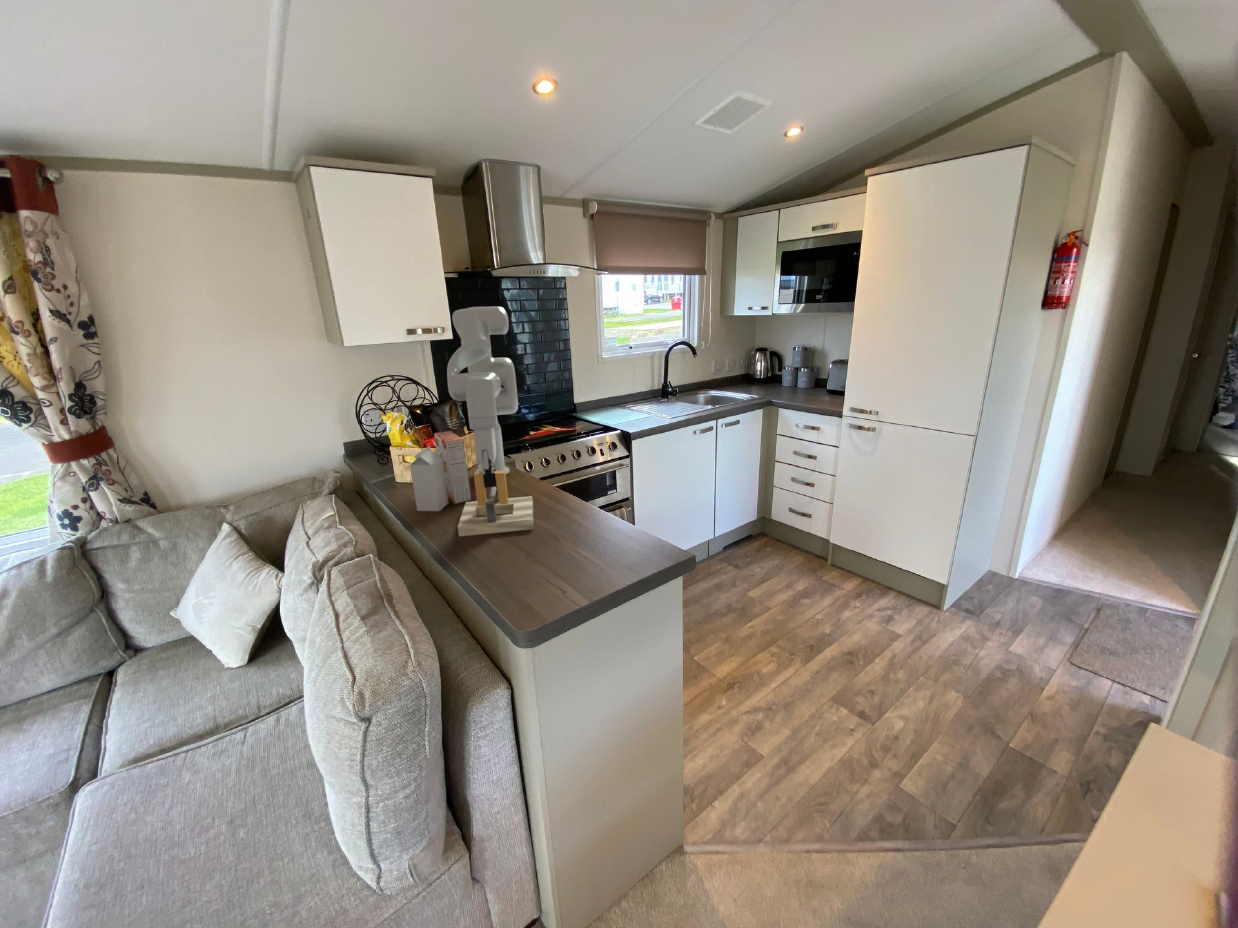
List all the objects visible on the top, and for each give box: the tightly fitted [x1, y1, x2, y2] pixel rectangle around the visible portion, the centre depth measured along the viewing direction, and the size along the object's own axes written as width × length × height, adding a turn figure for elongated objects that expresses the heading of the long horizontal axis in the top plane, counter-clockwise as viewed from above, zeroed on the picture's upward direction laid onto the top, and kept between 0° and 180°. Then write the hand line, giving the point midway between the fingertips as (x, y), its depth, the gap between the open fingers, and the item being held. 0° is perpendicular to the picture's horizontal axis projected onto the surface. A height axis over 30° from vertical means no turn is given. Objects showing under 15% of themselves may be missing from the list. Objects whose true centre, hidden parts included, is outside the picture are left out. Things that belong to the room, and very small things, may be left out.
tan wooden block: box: [473, 470, 509, 506], centre depth 141 cm, size 2×8×9 cm, turn 100°
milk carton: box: [409, 445, 450, 512], centre depth 152 cm, size 7×7×19 cm
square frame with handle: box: [457, 483, 534, 537], centre depth 143 cm, size 18×20×8 cm
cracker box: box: [433, 430, 473, 505], centre depth 161 cm, size 14×6×21 cm, turn 33°
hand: (490, 484), depth 141 cm, fingers closed on tan wooden block, 2 cm apart
